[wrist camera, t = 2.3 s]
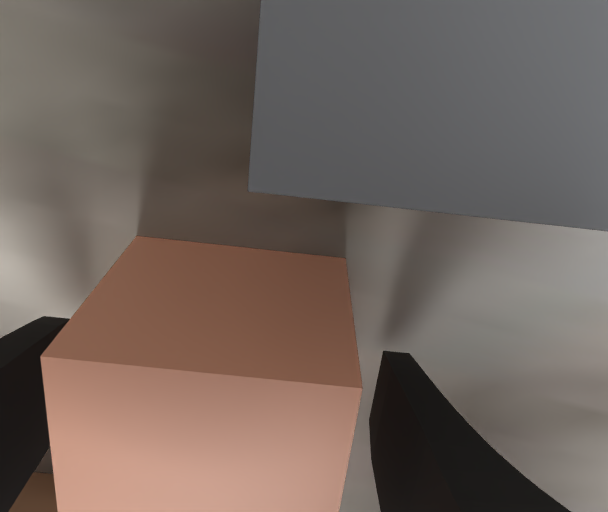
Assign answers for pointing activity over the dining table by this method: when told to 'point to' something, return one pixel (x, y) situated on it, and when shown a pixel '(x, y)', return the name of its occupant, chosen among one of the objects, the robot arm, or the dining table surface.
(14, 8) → the dining table surface
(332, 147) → the gray block
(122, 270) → the terracotta block
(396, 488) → the robot arm
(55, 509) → the walnut block
